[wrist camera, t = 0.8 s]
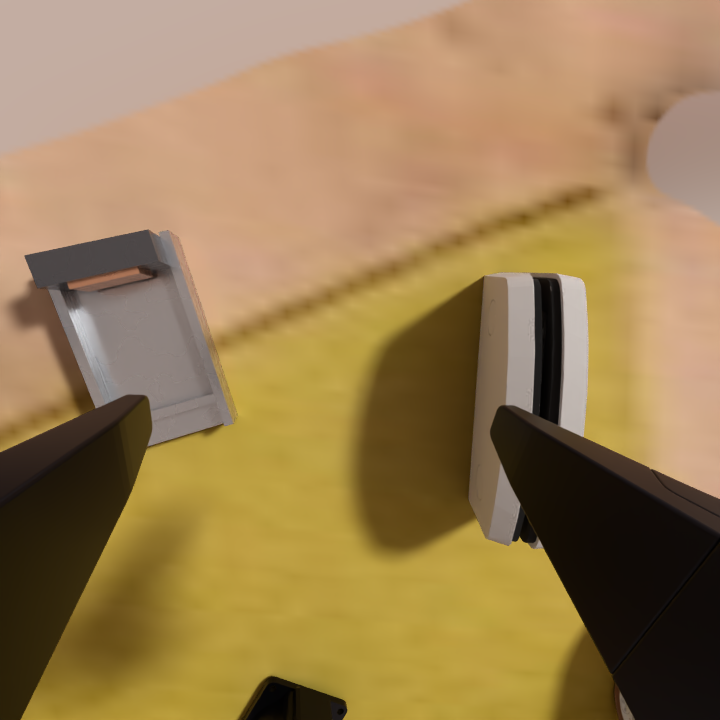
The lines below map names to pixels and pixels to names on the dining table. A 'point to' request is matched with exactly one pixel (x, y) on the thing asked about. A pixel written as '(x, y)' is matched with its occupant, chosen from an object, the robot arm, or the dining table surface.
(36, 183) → the dining table surface
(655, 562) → the robot arm
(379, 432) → the dining table surface
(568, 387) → the white slotted device
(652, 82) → the dining table surface
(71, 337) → the grey rectangular piece
